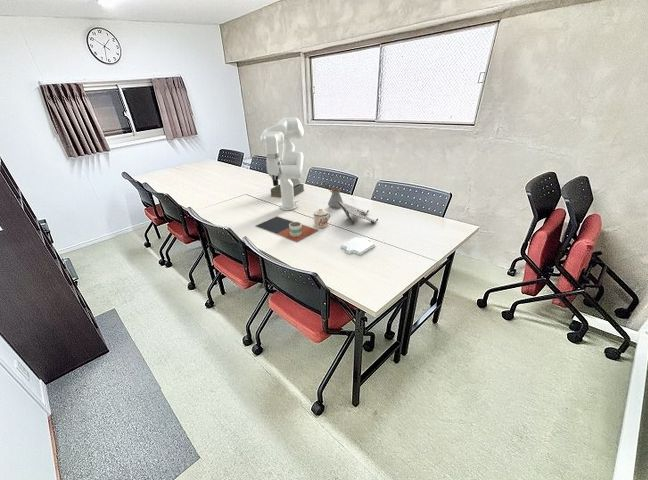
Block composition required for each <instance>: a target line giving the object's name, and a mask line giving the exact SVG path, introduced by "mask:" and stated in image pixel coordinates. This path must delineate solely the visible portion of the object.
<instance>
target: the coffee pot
mask: <svg viewBox="0 0 648 480" xmlns="http://www.w3.org/2000/svg"><path fill="white" fill-rule="evenodd" d="M323 186H324V187H326V188H327V190H328V191H330V193H331V195H330V198H329V200H328V202H327V205H328V207H329V208H330V209H332V210H339V209H342V207H341V206H340V205H339V203H338V202H337V201H340V202H342V203H344V201H343V198H342V196H341V194H340V192H341V189H340V188H334V189H331V188H330V187H329V186H328V185H327V184H326V182H323Z"/></svg>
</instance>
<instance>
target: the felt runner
mask: <svg viewBox="0 0 648 480" xmlns="http://www.w3.org/2000/svg"><path fill="white" fill-rule="evenodd" d="M292 222H293V221H292V220H288V219H285V218H282V217H280V216H275V217H272V218H270V219H268V220H266V221H263V222H261V223H259V224H256V225H255V227H258V228H260V229H262V230H264V231H267V232H271V233H273V234H275V235H278V236H281V237H284V238H286V239H288V240H290V241H294V242H296V243H297V242H300V241H301V240H303V239H305V238H307V237H309V236H310V235H312V234H315V233H316V232H318V231H319V229H318V228H317V229H316V228H313V227H311V226H307V225H304V224H302V235H300V236H297V237H293V236H290V232H289V224H290V223H292Z"/></svg>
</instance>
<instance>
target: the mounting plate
mask: <svg viewBox="0 0 648 480" xmlns="http://www.w3.org/2000/svg"><path fill="white" fill-rule="evenodd" d="M375 245H376V243H375V242H372V241H370V239H369V238H368V237H363V238H361V237H357V236H354V237H353V238H350V239H349V240H347V241H345V242H344V243H342V244H340V248H341V249H343V250H345V252H346V254H349V255H351V254H356V255H358V256H362V255H363V254H365V253H367V252H368V251H370V250H371V249H372V248H374V247H375Z"/></svg>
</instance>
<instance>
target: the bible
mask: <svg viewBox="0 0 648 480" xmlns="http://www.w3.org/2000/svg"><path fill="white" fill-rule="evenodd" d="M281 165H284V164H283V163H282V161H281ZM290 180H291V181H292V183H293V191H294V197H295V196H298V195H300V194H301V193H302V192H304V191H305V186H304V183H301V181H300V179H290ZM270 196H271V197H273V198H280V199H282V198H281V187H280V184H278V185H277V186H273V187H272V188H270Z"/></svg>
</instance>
